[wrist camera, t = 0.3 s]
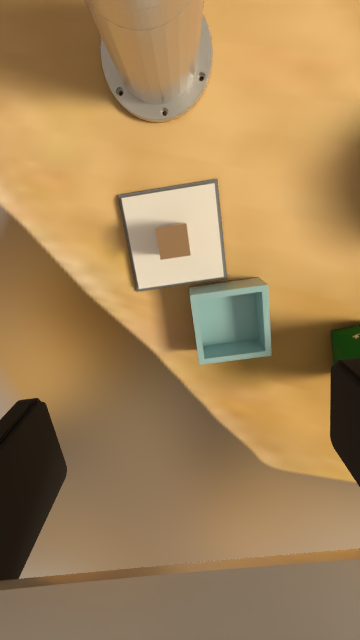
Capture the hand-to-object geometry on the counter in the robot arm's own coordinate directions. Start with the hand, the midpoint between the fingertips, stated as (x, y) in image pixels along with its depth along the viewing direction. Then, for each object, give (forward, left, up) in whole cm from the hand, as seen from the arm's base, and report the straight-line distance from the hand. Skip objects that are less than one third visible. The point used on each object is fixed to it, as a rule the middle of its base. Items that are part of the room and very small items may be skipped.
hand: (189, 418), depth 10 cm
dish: (+8, +5, -34) cm, 35 cm away
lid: (-4, -1, -34) cm, 34 cm away
